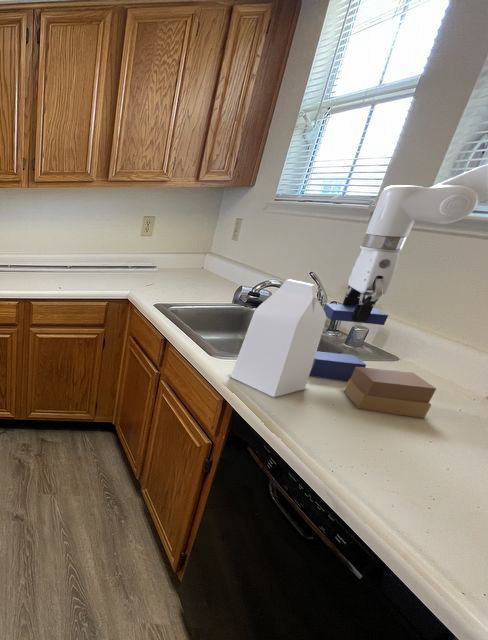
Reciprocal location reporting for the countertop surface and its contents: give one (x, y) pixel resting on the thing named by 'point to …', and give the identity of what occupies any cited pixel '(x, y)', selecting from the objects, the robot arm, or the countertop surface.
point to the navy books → (335, 365)
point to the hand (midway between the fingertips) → (352, 315)
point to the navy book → (346, 312)
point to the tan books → (390, 391)
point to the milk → (282, 340)
